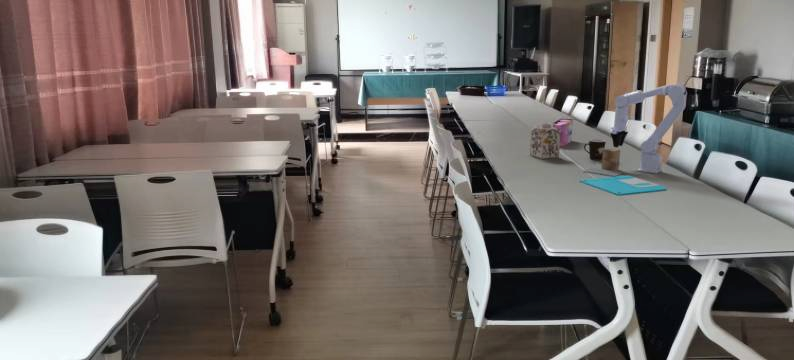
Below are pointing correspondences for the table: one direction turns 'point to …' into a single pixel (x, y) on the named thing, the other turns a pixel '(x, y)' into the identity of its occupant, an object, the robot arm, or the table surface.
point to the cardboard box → (610, 159)
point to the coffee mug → (596, 148)
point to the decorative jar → (545, 142)
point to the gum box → (564, 130)
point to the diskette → (623, 185)
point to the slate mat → (603, 172)
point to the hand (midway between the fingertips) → (617, 146)
